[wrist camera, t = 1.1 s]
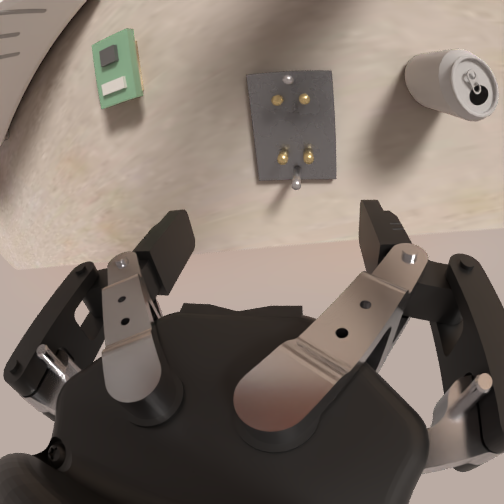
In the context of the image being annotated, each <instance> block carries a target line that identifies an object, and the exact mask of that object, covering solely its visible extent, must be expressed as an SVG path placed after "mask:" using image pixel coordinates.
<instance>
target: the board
mask: <svg viewBox="0 0 504 504" xmlns="http://www.w3.org/2000/svg"><path fill="white" fill-rule="evenodd" d="M92 52H93V60H94V67H95V74H96V81H97V87H98V93H99V98H100V104H101V109H105V108H108V107H111V106H114V105H117V104H119V103H122V102H125V101H128V100H131V99H134V98H138V97H141V96H143V93H142V87H141V81H140V75H139V68H138V61H137V54H136V47H135V39H134V30H133V29H128V28H127V29H124V30H122V31H120V32H118V33H116V34H113V35H111V36H109V37H107V38H105V39H103V40H101V41H99V42H97V43H95V44H94V45H92Z"/></svg>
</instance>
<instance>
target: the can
mask: <svg viewBox="0 0 504 504" xmlns="http://www.w3.org/2000/svg"><path fill="white" fill-rule="evenodd" d="M405 81H406V86H407V88H408V90H409V92H410V94H411V95H412V96H413V98H414V99H415V100H416V101H417V102H418V103H420V104H421V105H422V106H425V107H427V108H430V109H433V110H437V111H440V112H444V113H447V114H450V115H453V116H456V117H459V118H462V119H465V120H468V121H479V120H482V119H484V118H485V117H487V116H490V115H491V114H492V113H493V112H494V111H495V109H496V106H497V104H498V98H499V91H498V84H497V81H496V78H495V75H494V74H493V72H492V70H491V69H490V67H489V66H488V65H487V64H486V63H485V62H484V61H483V60H482V59H480V58H478V57H477V56H476V55H475V54H473V53H471V52H469V51H467V50H463V49H451V50H443V51H436V52H429V53H423V54H419V55H416V56H414V57H413V58H411V59H410V60H409V61H408V64H407V66H406V68H405Z"/></svg>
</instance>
